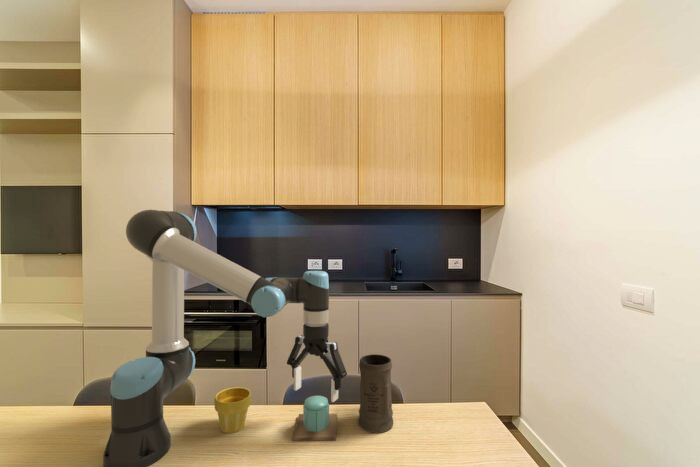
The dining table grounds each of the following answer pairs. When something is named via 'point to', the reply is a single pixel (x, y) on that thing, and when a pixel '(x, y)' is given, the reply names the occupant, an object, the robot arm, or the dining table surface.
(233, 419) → the plant pot
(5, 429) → the dining table surface
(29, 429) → the dining table surface
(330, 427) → the post block
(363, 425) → the beer stein
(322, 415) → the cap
